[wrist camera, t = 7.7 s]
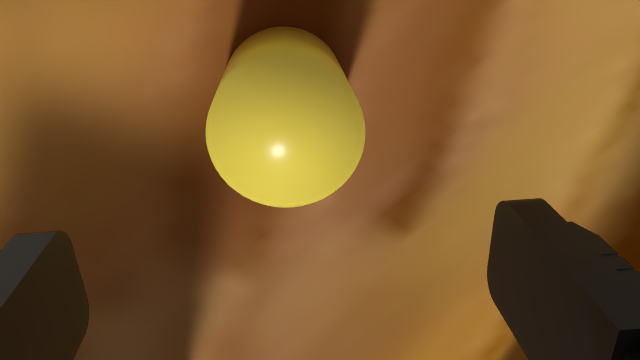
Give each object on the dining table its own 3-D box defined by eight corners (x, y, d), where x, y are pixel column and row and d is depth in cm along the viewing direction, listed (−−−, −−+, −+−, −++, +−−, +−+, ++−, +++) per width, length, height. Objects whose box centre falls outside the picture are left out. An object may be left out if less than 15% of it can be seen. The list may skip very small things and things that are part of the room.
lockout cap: (342, 23, 20) (365, 52, 15) (344, 139, 23) (365, 202, 17) (217, 29, 20) (195, 61, 15) (230, 146, 22) (215, 211, 17)
